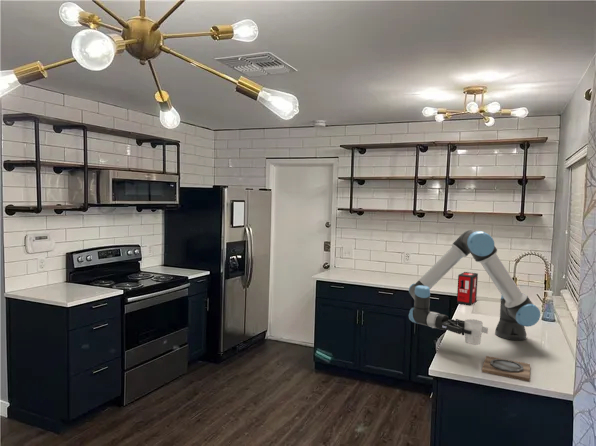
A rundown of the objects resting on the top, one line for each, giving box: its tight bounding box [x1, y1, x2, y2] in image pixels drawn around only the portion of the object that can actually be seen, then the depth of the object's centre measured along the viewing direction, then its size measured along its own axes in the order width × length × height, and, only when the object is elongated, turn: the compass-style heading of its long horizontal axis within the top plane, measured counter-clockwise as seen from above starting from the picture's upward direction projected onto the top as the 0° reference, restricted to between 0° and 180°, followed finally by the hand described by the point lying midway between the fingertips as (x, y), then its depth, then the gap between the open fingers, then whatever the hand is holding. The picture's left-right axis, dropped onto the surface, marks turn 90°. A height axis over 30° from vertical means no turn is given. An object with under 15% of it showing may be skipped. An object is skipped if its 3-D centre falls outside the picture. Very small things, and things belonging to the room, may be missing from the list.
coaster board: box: [481, 355, 531, 382], centre depth 193 cm, size 18×18×2 cm
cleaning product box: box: [456, 271, 479, 307], centre depth 311 cm, size 16×9×20 cm, turn 145°
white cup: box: [463, 318, 483, 346], centre depth 208 cm, size 8×8×10 cm
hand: (483, 332), depth 204 cm, fingers closed on white cup, 8 cm apart
